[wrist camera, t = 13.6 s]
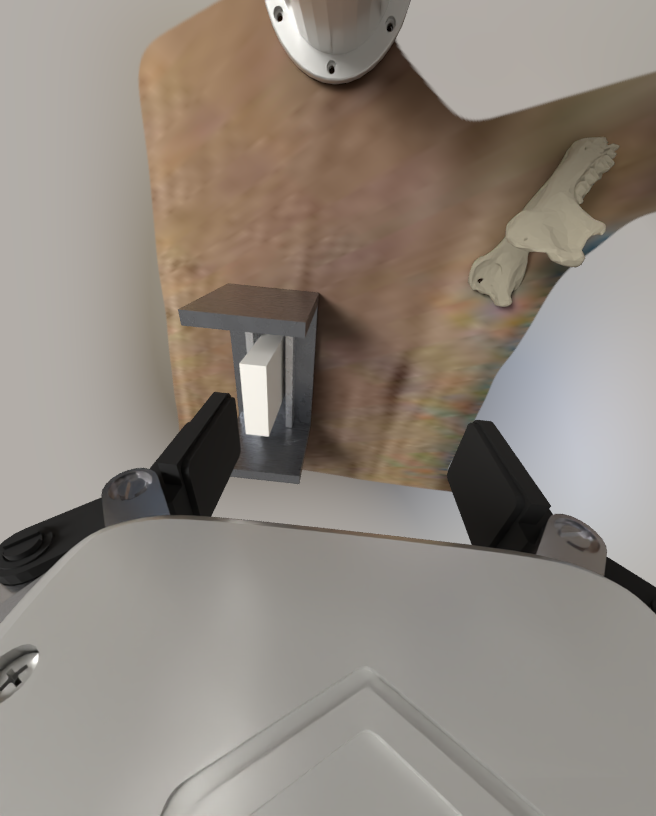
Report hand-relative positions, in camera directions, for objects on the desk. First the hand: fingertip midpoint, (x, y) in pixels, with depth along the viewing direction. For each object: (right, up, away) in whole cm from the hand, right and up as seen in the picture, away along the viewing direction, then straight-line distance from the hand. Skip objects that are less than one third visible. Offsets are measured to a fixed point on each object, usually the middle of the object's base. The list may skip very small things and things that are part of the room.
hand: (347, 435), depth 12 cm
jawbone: (+21, +22, +21) cm, 37 cm away
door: (-9, +7, +31) cm, 33 cm away
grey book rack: (-9, +8, +32) cm, 34 cm away
